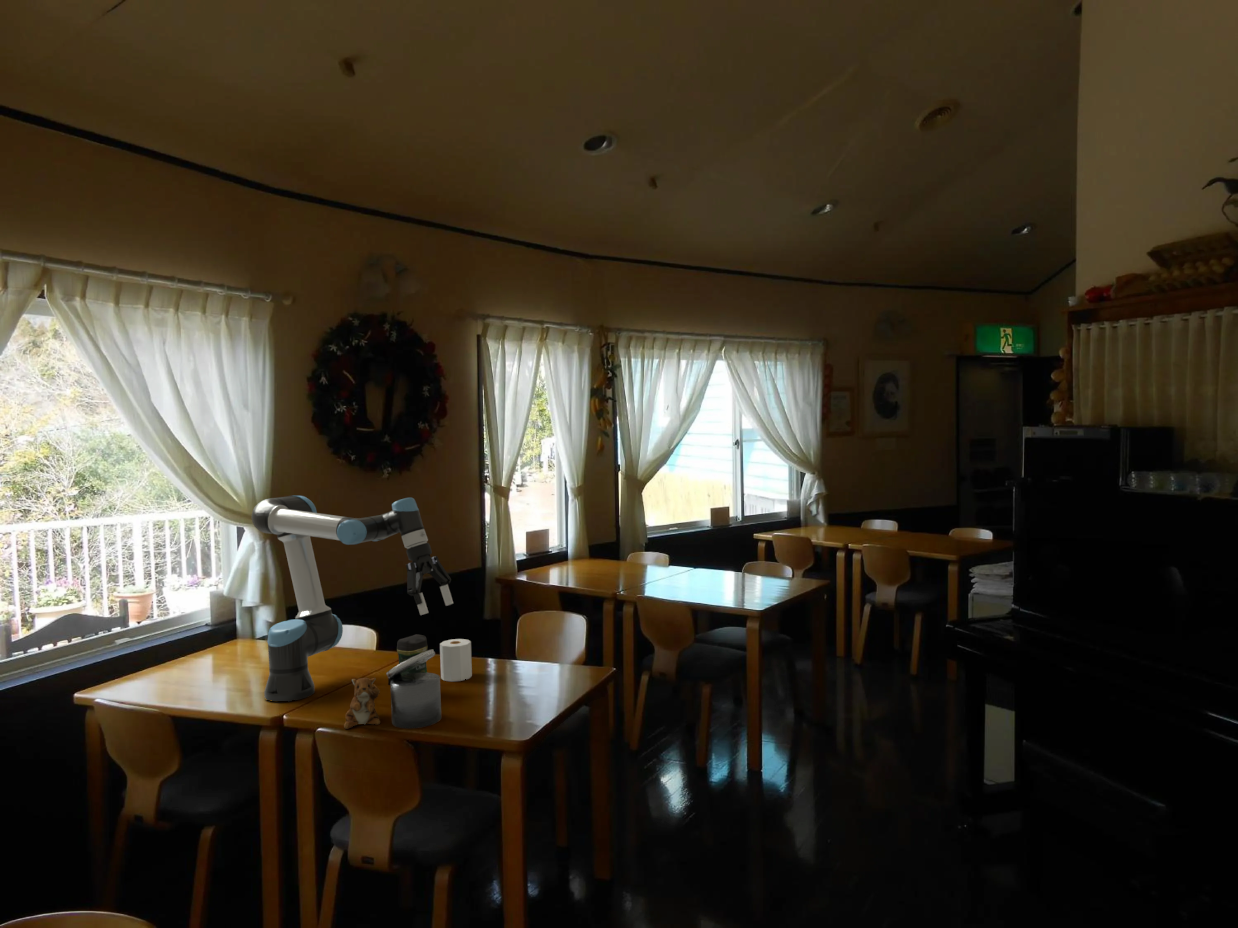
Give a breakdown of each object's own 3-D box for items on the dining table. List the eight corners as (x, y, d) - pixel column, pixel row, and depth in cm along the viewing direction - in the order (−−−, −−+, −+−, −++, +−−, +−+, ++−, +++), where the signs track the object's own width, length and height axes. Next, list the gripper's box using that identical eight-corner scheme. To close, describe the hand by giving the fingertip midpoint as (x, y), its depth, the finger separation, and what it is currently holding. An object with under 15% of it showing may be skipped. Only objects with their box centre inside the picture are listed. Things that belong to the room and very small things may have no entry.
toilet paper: (435, 677, 280) (434, 642, 279) (462, 671, 286) (461, 636, 286) (450, 683, 272) (449, 647, 272) (477, 676, 279) (476, 641, 278)
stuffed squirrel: (343, 730, 231) (341, 684, 230) (347, 714, 244) (346, 671, 244) (380, 726, 233) (378, 681, 232) (382, 710, 247) (380, 667, 246)
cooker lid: (376, 684, 235) (374, 679, 235) (411, 670, 247) (409, 666, 248) (410, 661, 228) (408, 657, 228) (444, 649, 241) (442, 644, 241)
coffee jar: (412, 699, 257) (409, 640, 256) (393, 695, 261) (391, 638, 260) (433, 690, 265) (431, 633, 264) (415, 687, 269) (413, 631, 268)
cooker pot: (377, 723, 235) (376, 682, 235) (411, 708, 248) (409, 669, 247) (419, 731, 228) (417, 689, 228) (451, 715, 241) (449, 675, 240)
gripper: (401, 547, 247) (422, 614, 245) (448, 536, 270) (468, 598, 268) (382, 554, 249) (403, 621, 248) (431, 543, 272) (450, 604, 271)
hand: (437, 609), depth 258 cm, fingers open, 13 cm apart
